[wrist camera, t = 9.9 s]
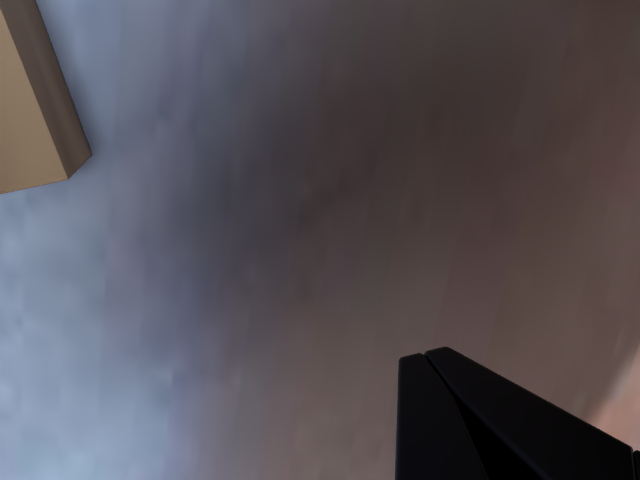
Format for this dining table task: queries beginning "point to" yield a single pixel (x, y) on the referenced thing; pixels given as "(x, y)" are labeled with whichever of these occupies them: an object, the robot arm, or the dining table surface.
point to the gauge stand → (34, 105)
